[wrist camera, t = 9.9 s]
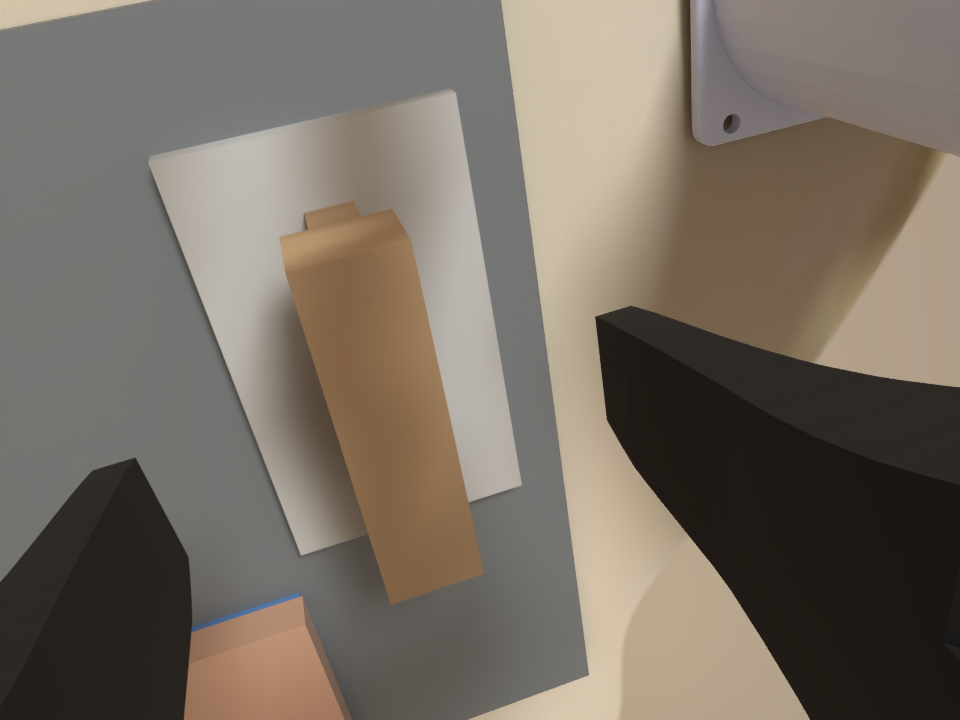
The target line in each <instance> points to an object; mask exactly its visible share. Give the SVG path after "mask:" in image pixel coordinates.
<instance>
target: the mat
mask: <svg viewBox="0 0 960 720" xmlns="http://www.w3.org/2000/svg"><path fill="white" fill-rule="evenodd" d="M449 88H450V89H451V90H453V91H454V92H456V97H457V103H458V108H459V114H460V120H461V126H462V132H463V138H464V144H465V150H466V156H467V162H468V168H469V174H470V180H471V186H472V192H473V198H474V204H475V210H476V215H477V221H478V227H479V233H480V239H481V245H482V251H483V257H484V263H485V269H486V275H487V281H488V287H489V293H490V299H491V305H492V311H493V317H494V322H495V328H496V334H497V340H498V346H499V352H500V358H501V364H502V370H503V376H504V382H505V388H506V394H507V400H508V406H509V412H510V418H511V424H512V429H513V435H514V441H515V447H516V453H517V459H518V465H519V471H520V477H521V483H522V485H521V486H518V487H515V488H512V489H509V490H505V491H502V492H499V493H496V494H493V495H490V496H487V497H484V498H480V499H477V500H474V501H471V502H469V507H470V511H471V516H472V520H473V525H474V529H475V534H476V539H477V543H478V548H479V552H480V557H481V561H482V566H483V571H484V574H482V575H479V576H476V577H473V578H470V579H467V580H464V581H461V582H458V583H455V584H452V585H449V586H446V587H443V588H440V589H437V590H434V591H431V592H428V593H425V594H422V595H419V596H416V597H413V598H410V599H407V600H404V601H401V602H398V603H395V604H392V605H391V603H390V600H389V597H388V594H387V591H386V588H385V584H384V581H383V578H382V575H381V572H380V569H379V566H378V562H377V559H376V556H375V553H374V550H373V547H372V544H371V541H370V537H369V534H367V535H364V536H361V537H358V538H355V539H352V540H348V541H345V542H342V543H339V544H336V545H333V546H330V547H326V548H323V549H320V550H317V551H314V552H311V553H308V554H304V555H301V554H300V551H299V549H298V546H297V544H296V541H295V539H294V536H293V533H292V531H291V528H290V526H289V523H288V521H287V518H286V516H285V513H284V510H283V508H282V505H281V503H280V500H279V498H278V495H277V492H276V490H275V487H274V485H273V482H272V480H271V477H270V474H269V472H268V469H267V467H266V464H265V462H264V459H263V456H262V454H261V451H260V449H259V446H258V444H257V441H256V438H255V436H254V433H253V431H252V428H251V426H250V423H249V421H248V418H247V415H246V413H245V410H244V408H243V405H242V403H241V400H240V397H239V395H238V392H237V390H236V387H235V385H234V382H233V379H232V377H231V374H230V372H229V369H228V367H227V364H226V361H225V359H224V356H223V354H222V351H221V349H220V346H219V343H218V341H217V338H216V336H215V333H214V331H213V328H212V326H211V323H210V320H209V318H208V315H207V313H206V310H205V308H204V305H203V302H202V300H201V297H200V295H199V292H198V290H197V287H196V284H195V282H194V279H193V277H192V274H191V272H190V269H189V266H188V264H187V261H186V259H185V256H184V254H183V251H182V248H181V246H180V243H179V241H178V238H177V236H176V233H175V231H174V228H173V225H172V223H171V220H170V218H169V215H168V213H167V210H166V207H165V205H164V202H163V200H162V197H161V195H160V192H159V189H158V187H157V184H156V182H155V179H154V177H153V174H152V171H151V169H150V166H149V164H148V162H149V159H150V156H153V155H158V154H162V153H166V152H171V151H175V150H180V149H184V148H188V147H193V146H197V145H202V144H206V143H211V142H215V141H219V140H224V139H228V138H233V137H237V136H241V135H246V134H250V133H255V132H259V131H263V130H268V129H272V128H277V127H281V126H286V125H290V124H294V123H299V122H303V121H308V120H312V119H316V118H321V117H325V116H330V115H334V114H339V113H343V112H347V111H352V110H356V109H361V108H365V107H369V106H374V105H378V104H383V103H387V102H391V101H396V100H400V99H405V98H409V97H414V96H418V95H422V94H427V93H431V92H436V91H440V90H444V89H449ZM132 458H136V459H137V461H138V463H139V465H140V467H141V469H142V471H143V473H144V474H145V476H146V478H147V480H148V482H149V484H150V486H151V488H152V489H153V491H154V493H155V495H156V497H157V499H158V501H159V502H160V504H161V506H162V508H163V510H164V512H165V514H166V516H167V517H168V519H169V521H170V523H171V525H172V527H173V529H174V531H175V532H176V534H177V536H178V538H179V540H180V542H181V544H182V546H183V547H184V549H185V551H186V553H187V555H188V557H189V568H190V581H191V598H192V627H195V626H198V625H201V624H204V623H207V622H210V621H213V620H216V619H219V618H222V617H225V616H228V615H231V614H234V613H238V612H241V611H244V610H247V609H250V608H253V607H256V606H259V605H262V604H265V603H268V602H271V601H274V600H277V599H281V598H284V597H287V596H290V595H293V594H296V593H300V595H301V596H303V599H304V601H305V604H306V606H307V609H308V611H309V614H310V616H311V619H312V621H313V624H314V626H315V628H316V631H317V633H318V636H319V638H320V641H321V643H322V646H323V648H324V651H325V653H326V656H327V658H328V661H329V663H330V666H331V668H332V671H333V673H334V676H335V678H336V681H337V683H338V686H339V688H340V690H341V693H342V695H343V698H344V700H345V703H346V705H347V708H348V710H349V713H350V715H351V718H352V720H468V719H470V718H473V717H476V716H478V715H481V714H484V713H487V712H489V711H492V710H495V709H498V708H500V707H503V706H506V705H509V704H511V703H514V702H517V701H519V700H522V699H525V698H528V697H530V696H533V695H536V694H539V693H541V692H544V691H547V690H550V689H552V688H555V687H558V686H560V685H563V684H566V683H569V682H571V681H574V680H577V679H580V678H582V677H585V676H588V675H589V672H588V664H587V657H586V649H585V641H584V634H583V626H582V618H581V611H580V603H579V595H578V588H577V580H576V572H575V565H574V557H573V549H572V542H571V534H570V526H569V519H568V511H567V503H566V496H565V488H564V480H563V473H562V465H561V457H560V450H559V442H558V434H557V427H556V419H555V411H554V404H553V396H552V388H551V381H550V373H549V365H548V358H547V350H546V342H545V335H544V327H543V319H542V312H541V304H540V296H539V289H538V281H537V273H536V266H535V258H534V250H533V242H532V235H531V227H530V219H529V212H528V204H527V196H526V189H525V181H524V173H523V166H522V158H521V150H520V143H519V135H518V127H517V120H516V112H515V104H514V97H513V89H512V81H511V74H510V66H509V58H508V51H507V43H506V35H505V28H504V20H503V12H502V5H501V0H152V1H147V2H142V3H136V4H131V5H126V6H121V7H116V8H111V9H106V10H101V11H95V12H90V13H85V14H80V15H75V16H70V17H65V18H59V19H54V20H49V21H44V22H39V23H34V24H29V25H23V26H18V27H13V28H8V29H3V30H0V582H1V581H2V579H3V578H4V577H5V576H6V575H7V574H8V573H9V571H10V570H11V569H12V568H13V566H14V565H15V564H16V563H17V562H18V560H19V559H20V558H21V557H22V555H23V554H24V553H25V552H26V550H27V549H28V548H29V547H30V545H31V544H32V543H33V542H34V541H35V539H36V538H37V537H38V536H39V534H40V533H41V532H42V531H43V529H44V528H45V527H46V526H47V524H48V523H49V522H50V521H51V519H52V518H53V517H54V516H55V514H56V513H57V512H58V511H59V509H60V508H61V507H62V506H63V504H64V503H65V502H66V501H67V499H68V498H69V497H70V496H71V494H72V493H73V492H74V491H75V490H76V488H77V487H78V486H79V485H80V484H81V482H82V481H83V480H84V479H85V478H86V477H87V476H88V475H89V474H90V473H91V472H92V471H93V470H96V469H99V468H102V467H105V466H109V465H112V464H115V463H118V462H122V461H125V460H128V459H132Z"/></svg>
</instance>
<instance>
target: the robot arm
mask: <svg viewBox="0 0 960 720" xmlns="http://www.w3.org/2000/svg"><path fill="white" fill-rule="evenodd" d="M690 19H691V99H692V133H693V137H694V138H695V139H696V141H698V142H700V143H702V144H704V145H706V146H716V145H720V144H724V143H728V142H732V141H736V140H740V139H744V138H748V137H751V136H755V135H759V134H763V133H767V132H771V131H775V130H779V129H783V128H787V127H791V126H795V125H799V124H803V123H807V122H811V121H815V120H818V119H822V118H826V117H829V118H832V119H836V120H839V121H842V122H846V123H849V124H852V125H856V126H859V127H862V128H866V129H869V130H872V131H876V132H879V133H882V134H886V135H889V136H892V137H896V138H899V139H902V140H906V141H909V142H912V143H916V144H919V145H922V146H926V147H929V148H933V149H936V150H939V151H943V152H946V153H949V154H953V155H956V156H959V157H960V0H690ZM731 114H732V118H733V119H732V123H731V125H730V126H729V128H728V129H726V130H724V129H723V124H724V120H725V119H726V118H727V116H729V115H731ZM595 318H596V327H597V336H598V345H599V353H600V362H601V371H602V380H603V389H604V398H605V406H606V415H607V421H608V423H609V424H610V426H611V428H612V430H613V431H614V433H615V435H616V437H617V438H618V440H619V442H620V444H621V446H622V447H623V449H624V450H625V452H626V454H627V455H628V457H629V459H630V460H631V462H632V464H633V465H634V467H635V468H636V470H637V471H638V472H639V474H640V475H641V476H642V477H643V479H644V480H645V481H646V483H647V484H648V485H649V486H650V488H651V489H652V490H653V491H654V493H655V494H656V495H657V497H658V498H659V499H660V500H661V502H662V503H663V504H664V505H665V507H666V508H667V509H668V510H669V512H670V513H671V514H672V515H673V517H674V518H675V519H676V520H677V521H678V523H679V524H680V525H681V526H682V528H683V529H684V530H685V531H686V533H687V534H688V535H689V536H690V538H691V539H692V540H693V541H694V543H695V544H696V545H697V546H698V548H699V549H700V550H701V551H702V553H703V554H704V555H705V556H706V558H707V559H708V560H709V561H710V562H711V564H712V565H713V566H714V568H715V569H716V570H717V572H718V573H719V575H720V576H721V577H722V579H723V580H724V581H725V583H726V584H727V585H728V587H729V588H730V590H731V591H732V593H733V594H734V596H735V597H736V599H737V601H738V602H739V604H740V605H741V607H742V608H743V610H744V611H745V613H746V615H747V616H748V618H749V619H750V621H751V623H752V624H753V625H754V627H755V629H756V630H757V632H758V634H759V635H760V636H761V638H762V640H763V641H764V643H765V645H766V646H767V648H768V650H769V651H770V653H771V655H772V656H773V658H774V659H775V661H776V662H777V664H778V666H779V668H780V669H781V671H782V673H783V674H784V676H785V678H786V679H787V681H788V683H789V684H790V686H791V687H792V689H793V691H794V692H795V694H796V696H797V697H798V699H799V701H800V703H801V704H802V706H803V708H804V710H805V711H806V713H807V715H808V716H809V718H810V720H960V387H951V386H942V385H934V384H927V383H918V382H911V381H903V380H896V379H890V378H883V377H877V376H872V375H866V374H861V373H857V372H851V371H847V370H841V369H837V368H832V367H827V366H823V365H818V364H814V363H810V362H806V361H802V360H798V359H795V358H791V357H788V356H784V355H780V354H777V353H773V352H770V351H766V350H763V349H760V348H756V347H753V346H750V345H747V344H743V343H740V342H737V341H734V340H731V339H728V338H725V337H722V336H719V335H716V334H713V333H711V332H708V331H705V330H702V329H699V328H696V327H694V326H691V325H688V324H685V323H682V322H679V321H677V320H674V319H671V318H668V317H665V316H662V315H659V314H657V313H654V312H651V311H647V310H644V309H641V308H637V307H633V306H629V307H626V308H622V309H619V310H616V311H613V312H609V313H606V314H603V315H599V316H596V317H595ZM191 631H192V598H191V581H190V568H189V557H188V555H187V553H186V551H185V549H184V547H183V546H182V544H181V542H180V540H179V538H178V536H177V534H176V532H175V531H174V529H173V527H172V525H171V523H170V521H169V519H168V517H167V516H166V514H165V512H164V510H163V508H162V506H161V504H160V502H159V501H158V499H157V497H156V495H155V493H154V491H153V489H152V488H151V486H150V484H149V482H148V480H147V478H146V476H145V474H144V473H143V471H142V469H141V467H140V465H139V463H138V461H137V459H136V458H132V459H128V460H125V461H122V462H118V463H115V464H112V465H109V466H105V467H102V468H99V469H96V470H93V471H92V472H91V473H90V474H89V475H88V476H87V477H86V478H85V479H84V480H83V481H82V482H81V484H80V485H79V486H78V487H77V488H76V490H75V491H74V492H73V493H72V494H71V496H70V497H69V498H68V499H67V501H66V502H65V503H64V504H63V506H62V507H61V508H60V509H59V511H58V512H57V513H56V514H55V516H54V517H53V518H52V519H51V521H50V522H49V523H48V524H47V526H46V527H45V528H44V529H43V531H42V532H41V533H40V534H39V536H38V537H37V538H36V539H35V541H34V542H33V543H32V544H31V545H30V547H29V548H28V549H27V550H26V552H25V553H24V554H23V555H22V557H21V558H20V559H19V560H18V562H17V563H16V564H15V565H14V566H13V568H12V569H11V570H10V571H9V573H8V574H7V575H6V576H5V577H4V578H3V579H2V581H1V582H0V720H184V712H185V701H186V690H187V679H188V668H189V656H190V643H191Z"/></svg>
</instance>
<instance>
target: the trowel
mask: <svg viewBox="0 0 960 720" xmlns="http://www.w3.org/2000/svg"><path fill="white" fill-rule="evenodd" d="M148 164H149V166H150V169H151V171H152V174H153V177H154V179H155V182H156V184H157V187H158V189H159V192H160V195H161V197H162V200H163V202H164V205H165V207H166V210H167V213H168V215H169V218H170V220H171V223H172V225H173V228H174V231H175V233H176V236H177V238H178V241H179V243H180V246H181V248H182V251H183V254H184V256H185V259H186V261H187V264H188V266H189V269H190V272H191V274H192V277H193V279H194V282H195V284H196V287H197V290H198V292H199V295H200V297H201V300H202V302H203V305H204V308H205V310H206V313H207V315H208V318H209V320H210V323H211V326H212V328H213V331H214V333H215V336H216V338H217V341H218V343H219V346H220V349H221V351H222V354H223V356H224V359H225V361H226V364H227V367H228V369H229V372H230V374H231V377H232V379H233V382H234V385H235V387H236V390H237V392H238V395H239V397H240V400H241V403H242V405H243V408H244V410H245V413H246V415H247V418H248V421H249V423H250V426H251V428H252V431H253V433H254V436H255V438H256V441H257V444H258V446H259V449H260V451H261V454H262V456H263V459H264V462H265V464H266V467H267V469H268V472H269V474H270V477H271V480H272V482H273V485H274V487H275V490H276V492H277V495H278V498H279V500H280V503H281V505H282V508H283V510H284V513H285V516H286V518H287V521H288V523H289V526H290V528H291V531H292V533H293V536H294V539H295V541H296V544H297V546H298V549H299V551H300V554H301V555H304V554H308V553H311V552H314V551H317V550H320V549H323V548H326V547H330V546H333V545H336V544H339V543H342V542H345V541H348V540H352V539H355V538H358V537H361V536H364V535H367V534H369V537H370V541H371V544H372V547H373V550H374V553H375V556H376V559H377V562H378V566H379V569H380V572H381V575H382V578H383V581H384V584H385V588H386V591H387V594H388V597H389V600H390V603H391V605H392V604H395V603H398V602H401V601H404V600H407V599H410V598H413V597H416V596H419V595H422V594H425V593H428V592H431V591H434V590H437V589H440V588H443V587H446V586H449V585H452V584H455V583H458V582H461V581H464V580H467V579H470V578H473V577H476V576H479V575H482V574H484V571H483V566H482V561H481V557H480V552H479V548H478V543H477V539H476V534H475V529H474V525H473V520H472V516H471V511H470V507H469V502H471V501H474V500H477V499H480V498H484V497H487V496H490V495H493V494H496V493H499V492H502V491H505V490H509V489H512V488H515V487H518V486H521V485H522V483H521V477H520V471H519V465H518V459H517V453H516V447H515V441H514V435H513V429H512V424H511V418H510V412H509V406H508V400H507V394H506V388H505V382H504V376H503V370H502V364H501V358H500V352H499V346H498V340H497V334H496V328H495V322H494V317H493V311H492V305H491V299H490V293H489V287H488V281H487V275H486V269H485V263H484V257H483V251H482V245H481V239H480V233H479V227H478V221H477V215H476V210H475V204H474V198H473V192H472V186H471V180H470V174H469V168H468V162H467V156H466V150H465V144H464V138H463V132H462V126H461V120H460V114H459V108H458V103H457V97H456V92H454V91H453V90H451V89H450V88H449V89H444V90H440V91H436V92H431V93H427V94H422V95H418V96H414V97H409V98H405V99H400V100H396V101H391V102H387V103H383V104H378V105H374V106H369V107H365V108H361V109H356V110H352V111H347V112H343V113H339V114H334V115H330V116H325V117H321V118H316V119H312V120H308V121H303V122H299V123H294V124H290V125H286V126H281V127H277V128H272V129H268V130H263V131H259V132H255V133H250V134H246V135H241V136H237V137H233V138H228V139H224V140H219V141H215V142H211V143H206V144H202V145H197V146H193V147H188V148H184V149H180V150H175V151H171V152H166V153H162V154H158V155H153V156H150V159H149V162H148Z"/></svg>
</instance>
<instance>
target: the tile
mask: <svg viewBox="0 0 960 720" xmlns="http://www.w3.org/2000/svg"><path fill="white" fill-rule="evenodd" d="M184 720H352V718H351V715H350V713H349V710H348V708H347V705H346V703H345V700H344V698H343V695H342V693H341V690H340V688H339V686H338V683H337V681H336V678H335V676H334V673H333V671H332V668H331V666H330V663H329V661H328V658H327V656H326V653H325V651H324V648H323V646H322V643H321V641H320V638H319V636H318V633H317V631H316V628H315V626H314V624H313V621H312V619H311V616H310V614H309V611H308V609H307V606H306V604H305V601H304V599H303V596H301V595H300V593H296V594H293V595H290V596H287V597H284V598H281V599H277V600H274V601H271V602H268V603H265V604H262V605H259V606H256V607H253V608H250V609H247V610H244V611H241V612H238V613H234V614H231V615H228V616H225V617H222V618H219V619H216V620H213V621H210V622H207V623H204V624H201V625H198V626H195V627H192V631H191V643H190V656H189V668H188V679H187V690H186V701H185V712H184Z"/></svg>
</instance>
